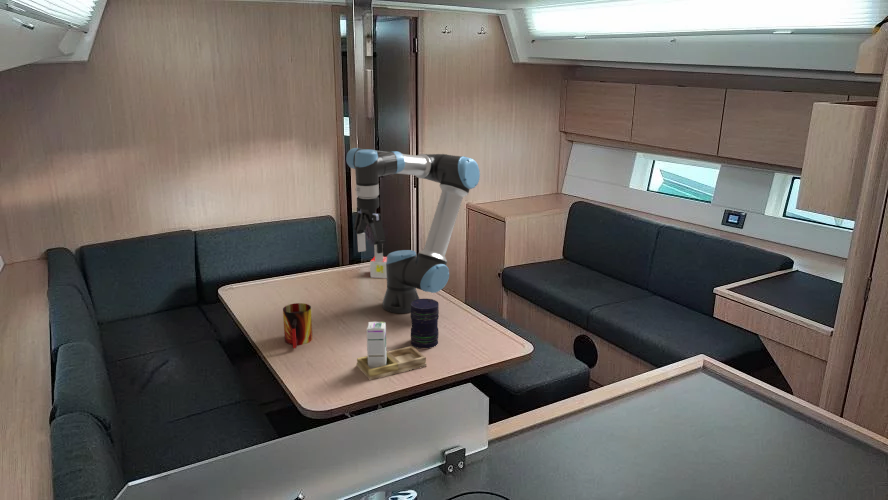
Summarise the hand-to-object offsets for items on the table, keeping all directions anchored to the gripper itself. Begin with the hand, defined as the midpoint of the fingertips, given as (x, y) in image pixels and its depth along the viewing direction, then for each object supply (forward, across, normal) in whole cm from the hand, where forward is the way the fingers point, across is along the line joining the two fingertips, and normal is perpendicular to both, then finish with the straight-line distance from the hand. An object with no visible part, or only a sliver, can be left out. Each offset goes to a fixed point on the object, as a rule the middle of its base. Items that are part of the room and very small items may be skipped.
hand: (370, 256), depth 224 cm
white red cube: (+32, -61, +33) cm, 77 cm away
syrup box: (+29, +23, -10) cm, 39 cm away
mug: (+30, -9, -24) cm, 40 cm away
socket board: (+30, +24, -5) cm, 39 cm away
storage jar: (+31, +13, +13) cm, 36 cm away
